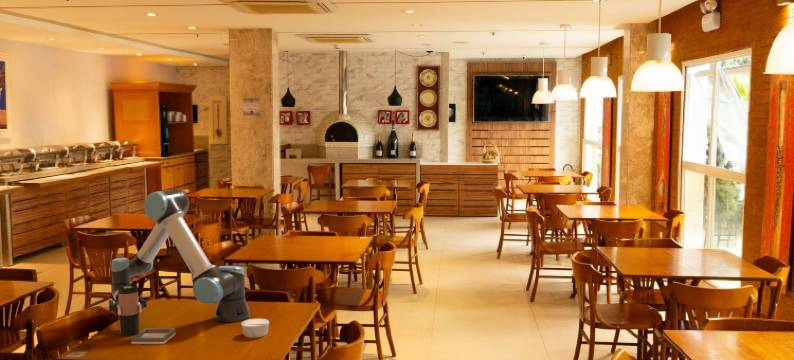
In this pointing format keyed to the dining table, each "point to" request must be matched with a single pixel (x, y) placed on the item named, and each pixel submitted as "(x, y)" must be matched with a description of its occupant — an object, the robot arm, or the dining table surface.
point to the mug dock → (153, 336)
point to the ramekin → (255, 327)
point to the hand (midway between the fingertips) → (130, 310)
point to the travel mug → (129, 310)
